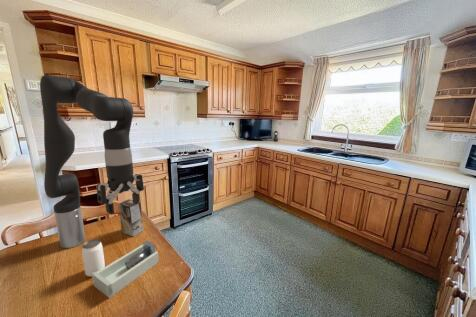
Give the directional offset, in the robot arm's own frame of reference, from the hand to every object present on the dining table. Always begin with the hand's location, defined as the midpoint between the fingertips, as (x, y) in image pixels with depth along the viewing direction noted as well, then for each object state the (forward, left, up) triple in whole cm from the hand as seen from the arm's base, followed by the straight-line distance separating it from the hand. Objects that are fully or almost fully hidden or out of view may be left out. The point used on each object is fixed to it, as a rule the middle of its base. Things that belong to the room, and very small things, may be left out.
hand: (124, 208), depth 68 cm
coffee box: (-30, +20, -29) cm, 46 cm away
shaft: (-5, +7, -28) cm, 29 cm away
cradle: (-5, +2, -29) cm, 30 cm away
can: (-17, -4, -29) cm, 34 cm away
